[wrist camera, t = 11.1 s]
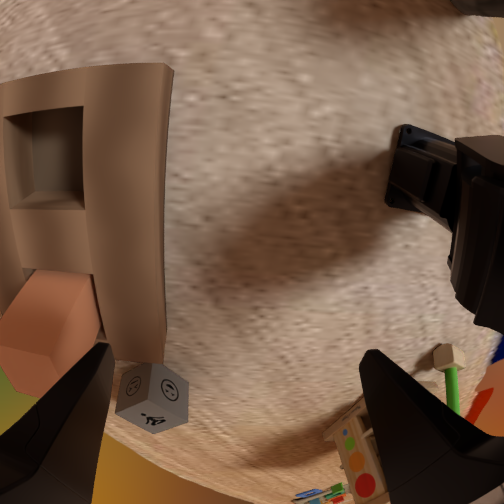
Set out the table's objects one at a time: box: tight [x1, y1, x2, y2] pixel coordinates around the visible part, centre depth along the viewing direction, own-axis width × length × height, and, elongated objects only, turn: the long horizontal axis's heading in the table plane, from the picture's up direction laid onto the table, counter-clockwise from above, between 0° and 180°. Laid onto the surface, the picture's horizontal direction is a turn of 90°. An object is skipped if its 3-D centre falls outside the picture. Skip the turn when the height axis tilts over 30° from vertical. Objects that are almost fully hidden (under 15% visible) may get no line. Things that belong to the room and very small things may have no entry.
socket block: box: [0, 63, 174, 364], centre depth 17 cm, size 14×20×4 cm
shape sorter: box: [291, 483, 352, 504], centre depth 66 cm, size 34×19×5 cm, turn 18°
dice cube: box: [115, 363, 189, 434], centre depth 26 cm, size 5×5×5 cm
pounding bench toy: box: [322, 343, 466, 504], centre depth 29 cm, size 23×14×18 cm, turn 155°
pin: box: [0, 269, 102, 398], centre depth 16 cm, size 4×4×10 cm
